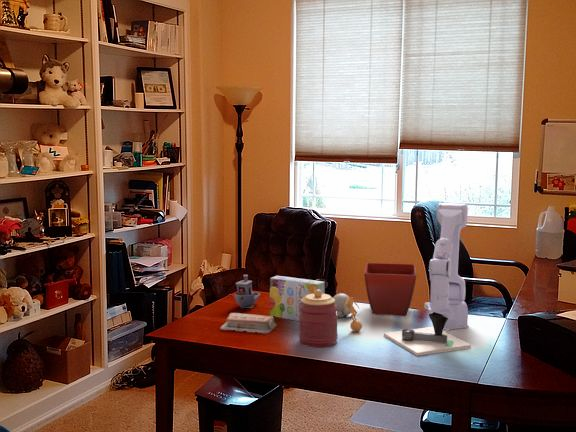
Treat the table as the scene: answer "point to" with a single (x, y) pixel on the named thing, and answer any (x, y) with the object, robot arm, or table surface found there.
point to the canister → (318, 320)
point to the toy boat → (245, 293)
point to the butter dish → (249, 323)
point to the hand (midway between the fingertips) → (438, 335)
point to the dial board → (427, 343)
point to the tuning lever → (423, 336)
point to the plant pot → (390, 287)
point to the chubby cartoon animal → (341, 304)
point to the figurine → (353, 315)
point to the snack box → (290, 295)
